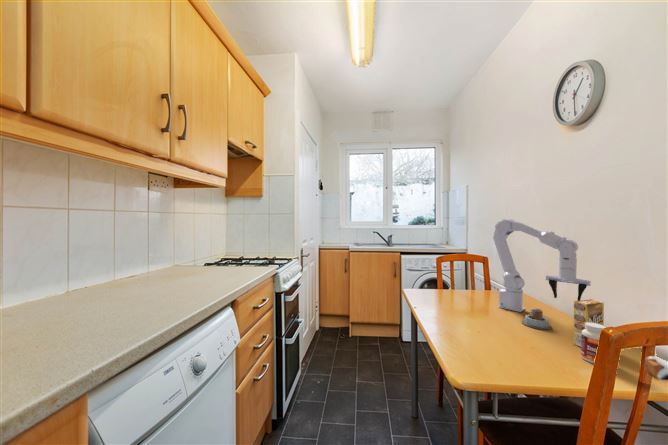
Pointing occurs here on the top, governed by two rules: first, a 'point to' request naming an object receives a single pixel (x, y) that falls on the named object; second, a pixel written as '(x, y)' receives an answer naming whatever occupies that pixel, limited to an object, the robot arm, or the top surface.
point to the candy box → (586, 316)
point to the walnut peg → (536, 314)
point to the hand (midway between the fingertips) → (566, 299)
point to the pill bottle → (590, 341)
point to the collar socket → (537, 323)
